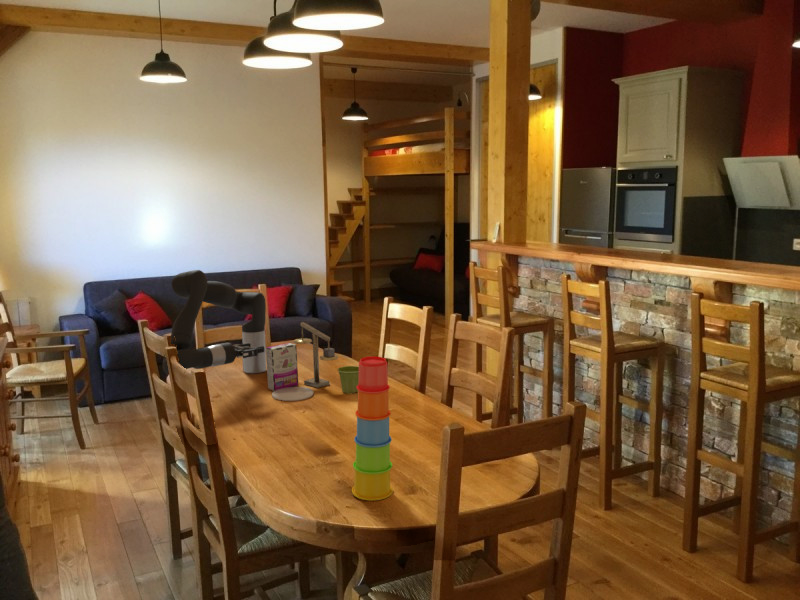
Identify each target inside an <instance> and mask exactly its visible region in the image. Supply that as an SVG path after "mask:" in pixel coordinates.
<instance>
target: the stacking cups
mask: <svg viewBox="0 0 800 600" xmlns="http://www.w3.org/2000/svg"><path fill="white" fill-rule="evenodd" d="M358 367H359V382H358V385H357V387H356V388H357V390H358V392H357V410H356V411H355V414H354V415H355V416H356V436H354V442H355V461H353V463H352V468H353V469H354V486H352V488H351V493H352V495H353V497H355V498H357V499H359V500H363V501H368V502H369V501H370V502H371V501H372V502H373V501H381V500H384V499H385V500H386V499H387V498H389V497H391V496H392V494H393V492H394V489H393V487H392V486H391V469H392V468H393V462H391V455H390V454H391V450H390V449H391V448H390V447H391V442H392V437H391V435H390V416H391V415H392V412H391V410H390V409H389V390H390V388H391V387H390V385H389V384H388V382H389V381H388V379H389V378H388V374H389V373H388V372H389V371H388V361H387V360H386V358H385V357H383V356H376V355H375V356H371V355H370V356H365V357H362V358H360V360H359V362H358Z"/></svg>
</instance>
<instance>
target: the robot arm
mask: <svg viewBox="0 0 800 600" xmlns="http://www.w3.org/2000/svg"><path fill="white" fill-rule="evenodd" d="M171 289H172V290H173V292H174V294H175V295H176V296H177V297H180V298H181V299H185V300H186V299H187V301H186V303H185V305H184V307H183V308H182V310H181V311H180V312H179V313H178V315H177V316H176V318H175V320H174V322H173V324H172V328H171V333H170V338H171V337H172V338H171V339H172V340H171V344H175V346H176V345H177V351H178V354H177V356H178V358H179V363H180V364H181V365H182V366H183V367H184V368H186V370H188V369H192V368H193V369H195V370H200V369H205V368H209V367H210V368H212V367H219V366H224V365H227V364H228V365H229V364H233V362H235V360H236V358H241V359H242V371H243V372H244V373H246V374H261V373H264V372H267V361H266V348H267V347H266V332H265V330H266V329H265V327H266V326H265V325H266V305H267V304H266V298H265V295H264V294H263V293H262V292H257V291H256V292H255V291H252V292H250V291H237V290H236V289H235V288H234V287H233V286H232V285H230V284H228V283H225V282H222V281H216V280H213V281H212V280H208V277H207V276H206V274H205V272H204V271H202V270H200V269H194V270H188V271H184V272H179V273H178V274H176V275H175V276H174V277H173V278H172V280H171ZM203 303H207V304H210V305H212V306H217V307H220V308H223V309H232V310H234V311H236V312H237V313H239V314H242V315H251V320H250V321H248V322H247V321H246V322H244V323H243V324H242V325H241V335H242V336H241V338H242V343H232V342H222V343H215V344H211V345H208V346H204V347H198V348H190V347H191V344H192V340H193V334H194V329H195V325H196V324H195V323H196V321H197V317H198V314H199V312H200V310H201V307H202V304H203ZM174 336H175V338H176V341H175V338H174ZM173 338H174V339H173ZM162 369H163V371H164V373H165V374H166V375H167V376H169V375H168V366H167V361H166V358H165V355H164V356H163V359H162Z"/></svg>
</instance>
